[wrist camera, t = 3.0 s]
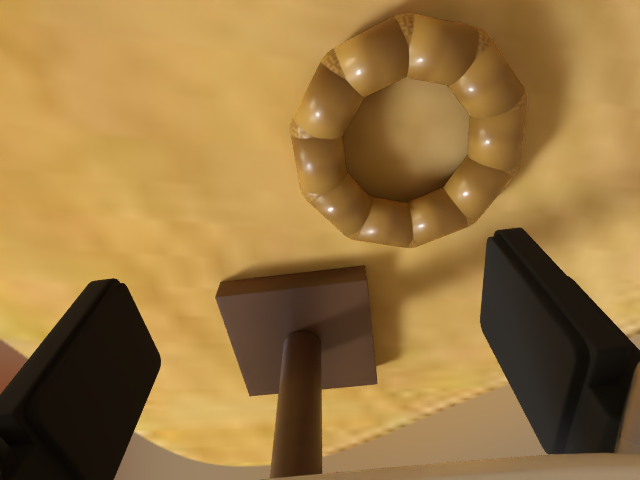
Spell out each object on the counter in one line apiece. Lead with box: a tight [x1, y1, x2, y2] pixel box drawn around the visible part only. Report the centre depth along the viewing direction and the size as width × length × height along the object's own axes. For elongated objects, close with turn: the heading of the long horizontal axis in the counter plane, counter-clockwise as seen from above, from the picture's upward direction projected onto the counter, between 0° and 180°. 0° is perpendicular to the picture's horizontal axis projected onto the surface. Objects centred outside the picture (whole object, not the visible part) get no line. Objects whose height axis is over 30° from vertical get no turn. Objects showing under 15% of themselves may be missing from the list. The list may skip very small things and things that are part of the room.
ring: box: [291, 13, 528, 248], centre depth 19 cm, size 11×11×2 cm
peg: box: [215, 266, 377, 479], centre depth 21 cm, size 9×9×14 cm
